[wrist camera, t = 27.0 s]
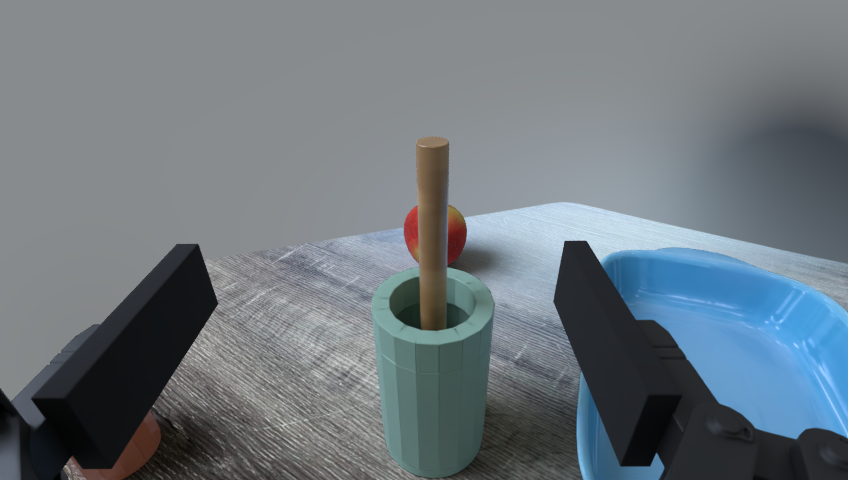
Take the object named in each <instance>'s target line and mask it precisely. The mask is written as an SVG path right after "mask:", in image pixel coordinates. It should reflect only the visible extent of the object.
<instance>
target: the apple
mask: <svg viewBox="0 0 848 480" xmlns="http://www.w3.org/2000/svg"><path fill="white" fill-rule="evenodd" d="M404 236H405V241H406V244H407V247H408V249H409V251H410V253H411V255H412V256H413V258H414V259H415V260H416V261H417V262H418V263H419V241H418V206H416V207H414V208H413V209H412V210H411V211H410V213H409V214H408V215H407V217H406V220H405V224H404ZM466 236H467V227H466V223H465V220H464V218H463V216H462V215H461V213H460V212H459V211H458V210H457V209H456V208H454V207H452V206H451V205H448V250H447V265H449V264H451V263H452V262H454V261H455V260H456V259H457V258H458V257H459V255H460V254H461V252H462V250H463V248H464V246H465V242H466Z"/></svg>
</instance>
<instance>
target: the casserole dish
mask: <svg viewBox="0 0 848 480" xmlns="http://www.w3.org/2000/svg"><path fill="white" fill-rule="evenodd" d="M600 263H601V265H602V267H603V268H604V270H605V271H606V273H607V275H608V276H609V278H610V279H611V281H612V283H613V284H614V286H615V287H616V289H617V291H618V292H619V294H620V295H621V297H622V298H623V300H624V302H625V303H626V305H627V306H628V308H629V310H630V311H631V313H632V314H633V316H634V318H635V319H636V320H654V321H656V322H657V323H658V324H660V325H661V326H662V327H663V328H665V329H666V330H667V331H669V333H670V334H671V336H672V337H673V338H674V340H675V341H676V343H677V344H678V347H679V348H681V350H682V351H683V353H684V354H685V356H686V359H687V360H689V361H690V363H691V364H692V366H693V367H694V368H695V370H696V371H697V373H698V374H699V375H700V377H701V378H702V380H703V381H704V383H705V384H706V385H707V387H708V388H709V390H710V391H711V393H712V394H713V395H714V397H715V398H716V400H717V401H718V402H719V404H722V405H725V406H728V407H731V408H732V409H734V410H736V411H737V412H739V413H741V414H742V415H743V416H744V417H745V418H746V419H748V420H749V421H750V422H751V423H752V424H753V426H754V428H756V429H759V430H762V431H766V432H770V433H774V434H778V435H782V436H786V437H789V438H793V439H797V438H798V436H799V435H800V434H801V433H802V432H803V431H804V430H805V429H809V428H821V429H826V430H831V431H833V432H835V433H838V434H840V435H842V436H845V437H846V438H848V311H847V310H846V309H844V308H843V307H842V306H841V305H840V304H839V303H837V302H836V301H835V300H833V299H832V298H830V297H829V296H827V295H826V294H824V293H822V292H821V291H819V290H817V289H815V288H813V287H811V286H809V285H806V284H804V283H802V282H799V281H797V280H794V279H791V278H788V277H785V276H782V275H779V274H776V273H772V272H769V271H766V270H763V269H760V268H758V267H755V266H753V265H750V264H748V263H746V262H743V261H740V260H738V259H735V258H732V257H729V256H726V255H722V254H718V253H713V252H709V251H704V250H696V249H689V248H676V247H675V248H662V249H658V250H654V251H653V250H626V251H619V252H616V253H612V254H610V255H608V256H606V257H605V258H604V259H603V260H602V261H601V262H600ZM576 440H577V453H578V461H579V466H580V471H581V475H582V479H583V480H659V478H660V476H661V474H662V472H663V470H664V466H663V464H662V462H661V460H660V458H659V456H658V454H657V453H656V455H655V457H654V459H653V462H652V464H651V466H650V467H620V464H619V462H618V460H617V457H616V455H615V452H614V450H613V447H612V445H611V442H610V440H609V437H608V435H607V432H606V430H605V427H604V425H603V422H602V420H601V418H600V415H599V413H598V410H597V408H596V405H595V403H594V400H593V398H592V395H591V393H590V390H589V388H588V385H587V383H586V381H585V378H584V376H583V373H582V371H580V381H579V392H578V405H577V426H576Z"/></svg>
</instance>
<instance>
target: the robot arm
mask: <svg viewBox="0 0 848 480" xmlns="http://www.w3.org/2000/svg"><path fill="white" fill-rule="evenodd" d="M553 302H554V304H555V307H556V309H557V311H558V314H559V316H560V319H561V321H562V324H563V326H564V329H565V331H566V334H567V336H568V339H569V341H570V344H571V346H572V348H573V351H574V353H575V356H576V358H577V361H578V363H579V366H580V368H581V371H582V373H583V376H584V378H585V381H586V383H587V385H588V388H589V390H590V393H591V395H592V398H593V400H594V403H595V405H596V408H597V410H598V413H599V415H600V418H601V420H602V422H603V425H604V427H605V430H606V432H607V435H608V437H609V440H610V442H611V445H612V447H613V450H614V452H615V455H616V457H617V460H618V462H619V464H620V467H650V466H651V464H652V462H653V459H654V457H655V455H656V453H657V454H658V456H659V458H660V460H661V462H662V464H663V466H664V470H663V472H662V474H661V476H660V478H659V480H848V438H846V437H845V436H842V435H840V434H838V433H835V432H833V431H831V430H826V429H821V428H809V429H805V430H804V431H803V432H802V433H801V434H800V435H799V436H798V438H797V439H793V438H789V437H786V436H782V435H778V434H774V433H770V432H766V431H762V430H759V429H756V428H754V426H753V424H752V423H751V422H750V421H749V420H748V419H746V418H745V417H744V416H743V415H742V414H741V413H739V412H737V411H736V410H734V409H732V408H731V407H728V406H725V405H722V404H719V402H718V401H717V400H716V398H715V397H714V395H713V394H712V393H711V391H710V390H709V388H708V387H707V385H706V384H705V383H704V381H703V380H702V378H701V377H700V375H699V374H698V373H697V371H696V370H695V368H694V367H693V366H692V364H691V363H690V361H689V360H687V359H686V356H685V354H684V353H683V351H682V350H681V348H679V347H678V344H677V343H676V341H675V340H674V338H673V337H672V336H671V334H670V333H669V331H667V330H666V329H665V328H663V327H662V326H661V325H660V324H658V323H657V322H656V321H654V320H636V319H635V318H634V316H633V314H632V313H631V311H630V310H629V308H628V306H627V305H626V303H625V302H624V300H623V298H622V297H621V295H620V294H619V292H618V291H617V289H616V287H615V286H614V284H613V283H612V281H611V279H610V278H609V276H608V275H607V273H606V271H605V270H604V268H603V267H602V265H601V263H600V262H599V260H598V259H597V257H596V256H595V254H594V252H593V251H592V249H591V248H590V246H589V244H588V243H587V241H565V242H564V248H563V253H562V258H561V264H560V269H559V274H558V280H557V285H556V290H555V296H554V301H553ZM217 305H218V302H217V299H216V296H215V293H214V290H213V287H212V284H211V281H210V278H209V275H208V272H207V269H206V266H205V263H204V260H203V257H202V254H201V251H200V248H199V245H198V244H177V245H176V246H175V247H174V248H173V249H172V250H171V251H170V252H169V253H168V254H167V255H166V256H165V257H164V258H163V259H162V260H161V262H160V263H159V264H158V265H157V266H156V267H155V268H154V269H153V270H152V271H151V272H150V273H149V274H148V275H147V276H146V277H145V278H144V279H143V280H142V282H141V283H140V284H139V285H138V286H137V287H136V288H135V289H134V290H133V291H132V292H131V293H130V294H129V295H128V296H127V297H126V298H125V299H124V300H123V302H122V303H121V304H120V305H119V306H118V307H117V308H116V309H115V310H114V311H113V312H112V313H111V314H110V315H109V316H108V317H107V318H106V319H105V321H104V322H103V323H102V324H100V325H98V324H97V325H92V326H91V327H89V328H88V329H86V330H85V331H83V332H82V333H80V334H79V335H77V336H75V337H74V339H72V340H71V341H70V342H69V343H68V344H67V345H66V346H65V347H64V348H63V349H62V351H61V353H59V354H58V355H56V356H55V358H54V359H53V360H52V361H51V362H50V365H47V366H46V367H45V368H44V369H43V370H42V371H41V372H40V373H39V374H38V375H37V376H36V377H35V378H34V379H33V380H32V381H31V382H30V383H29V384H28V385H27V386H26V387H25V388H24V389H23V390H22V391H21V392H20V393H19V394H18V395H17V396H16V397H15V398H14V399H13V400H12V401H10V400H9V399H8V398H7V397H6V395H5V394H4V392H3V391H2V390H1V389H0V480H68V477H67V475H66V473H65V471H64V470H63V467H64V466H65V465H66V463H67V462H68V461H69V459H70V458H71V457H72V456H73V457H74V459H75V460H76V461H77V463H78V464H79V465H80V467H81V468H82V469H112V468H113V466H114V465H115V463H116V462H117V460H118V459H119V457H120V456H121V454H122V452H123V451H124V449H125V448H126V446H127V445H128V443H129V442H130V440H131V438H132V437H133V435H134V434H135V432H136V431H137V429H138V428H139V426H140V424H141V423H142V421H143V420H144V418H145V417H146V415H147V414H148V412H149V410H150V409H151V407H152V406H153V404H154V403H155V401H156V400H157V398H158V397H159V395H160V393H161V392H162V390H163V389H164V387H165V386H166V384H167V383H168V381H169V379H170V378H171V376H172V375H173V373H174V372H175V370H176V369H177V367H178V365H179V364H180V362H181V361H182V359H183V358H184V356H185V355H186V353H187V351H188V350H189V348H190V347H191V345H192V344H193V342H194V341H195V339H196V338H197V336H198V334H199V333H200V331H201V330H202V328H203V327H204V325H205V324H206V322H207V320H208V319H209V317H210V316H211V314H212V313H213V311H214V310H215V308H216V306H217Z"/></svg>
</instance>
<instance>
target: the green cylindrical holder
mask: <svg viewBox="0 0 848 480" xmlns="http://www.w3.org/2000/svg"><path fill="white" fill-rule="evenodd" d="M494 306H495V303H494V300H493V297H492V294H491V291H490V290H489V289H488V288H487V286H486V285H485V284H484V283H483V282H482V281H481V280H480V279H478V278H476V277H474V276H472V275H470V274H468V273H467V272H465V271H464V272H463V271H461V270H457V269H453V268H449V267H447V317H446V329H444V330H439V331H428V330H421V317H420V279H419V267H417V268H411V269H407V270H405V271H403V272H400V273H398V274H395V275H393V276H391V277H390V278H389V279H387V280H386V281H385V282H383V283H382V284H381V285H380V286H379V287H378V289H377V290H376V292H375V294H374V295H373V297H372V321H373V331H374V340H375V350H376V360H377V369H378V379H379V389H380V399H381V408H382V418H383V428H384V435H385V440H386V445H387V448H388V450H389V452H390V454H391V456H392V457H393V459H394V460H395V461H396V462H397V463H398V464H399V465H400V466H401V467H402V468H404V469H405V470H407V471H408V472H410V473H412V474H415V475H418V476H421V477H426V478H442V477H447V476H451V475H453V474H456V473H458V472H460V471H461V470H463V469H464V468H466V467H467V466H468V465H469V464H470V463H471V462H472V461H473V460H474V458H475V457H476V455H477V454H478V452H479V449H480V447H481V443H482V436H483V428H484V419H485V407H486V396H487V385H488V374H489V362H490V351H491V340H492V328H493V317H494Z"/></svg>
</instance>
